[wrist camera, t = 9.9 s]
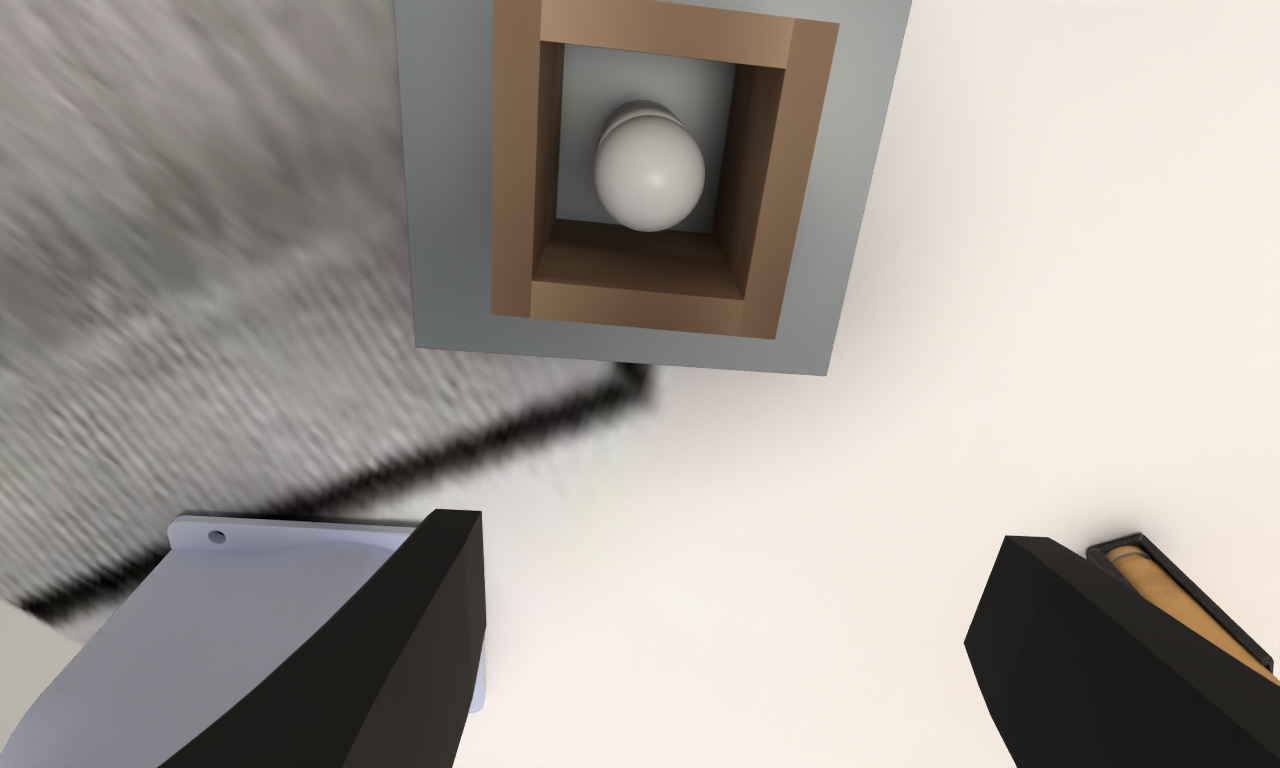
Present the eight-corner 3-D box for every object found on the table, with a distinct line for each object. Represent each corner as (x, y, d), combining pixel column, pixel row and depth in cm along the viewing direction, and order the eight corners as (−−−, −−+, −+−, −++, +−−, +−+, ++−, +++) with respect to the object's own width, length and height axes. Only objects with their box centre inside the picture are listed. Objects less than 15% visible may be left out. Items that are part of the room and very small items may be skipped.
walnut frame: (526, 244, 17) (491, 314, 12) (534, 2, 14) (494, -20, 10) (734, 264, 17) (775, 340, 13) (773, 31, 15) (840, 24, 10)
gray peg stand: (425, 333, 19) (346, 447, 13) (398, -165, 14) (257, -301, 9) (816, 361, 19) (891, 480, 14) (919, -106, 15) (1093, -197, 9)
